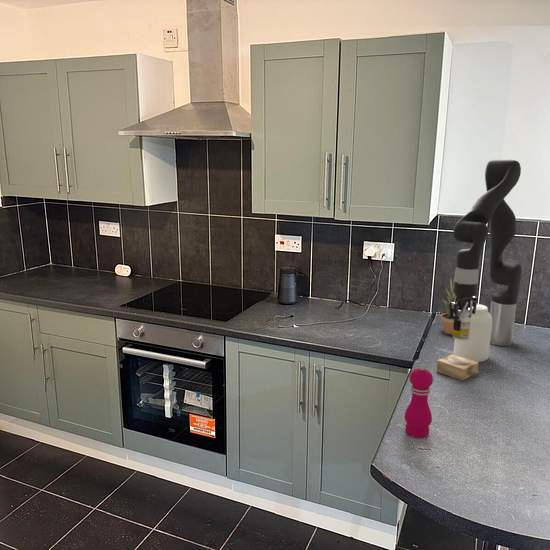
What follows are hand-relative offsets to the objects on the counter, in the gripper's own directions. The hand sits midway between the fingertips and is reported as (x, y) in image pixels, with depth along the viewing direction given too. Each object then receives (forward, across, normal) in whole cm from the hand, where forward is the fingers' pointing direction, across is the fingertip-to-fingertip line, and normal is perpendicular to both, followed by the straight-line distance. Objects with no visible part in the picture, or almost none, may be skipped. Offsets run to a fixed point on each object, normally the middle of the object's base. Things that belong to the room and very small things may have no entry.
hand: (461, 328), depth 178 cm
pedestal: (+16, 0, 0) cm, 16 cm away
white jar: (+16, -17, -5) cm, 24 cm away
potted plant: (+16, -35, -25) cm, 46 cm away
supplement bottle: (+4, 0, 0) cm, 4 cm away
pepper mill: (+16, +45, +16) cm, 51 cm away
